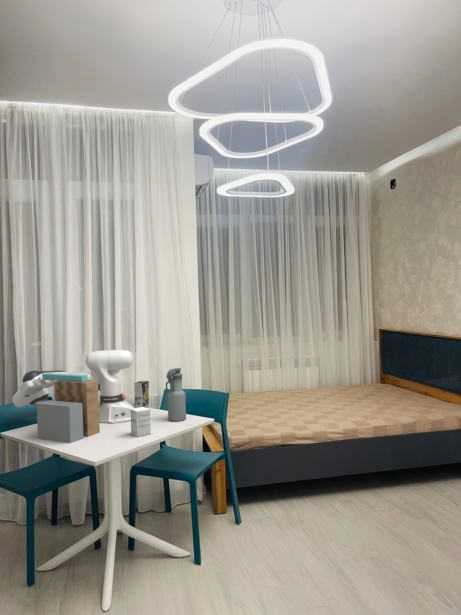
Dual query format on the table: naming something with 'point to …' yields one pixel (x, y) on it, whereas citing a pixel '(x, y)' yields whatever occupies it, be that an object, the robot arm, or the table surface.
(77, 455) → the table surface
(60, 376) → the teal batten
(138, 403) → the coffee box
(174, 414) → the water bottle
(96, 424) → the walnut stand
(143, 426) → the supplement box
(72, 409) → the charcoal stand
